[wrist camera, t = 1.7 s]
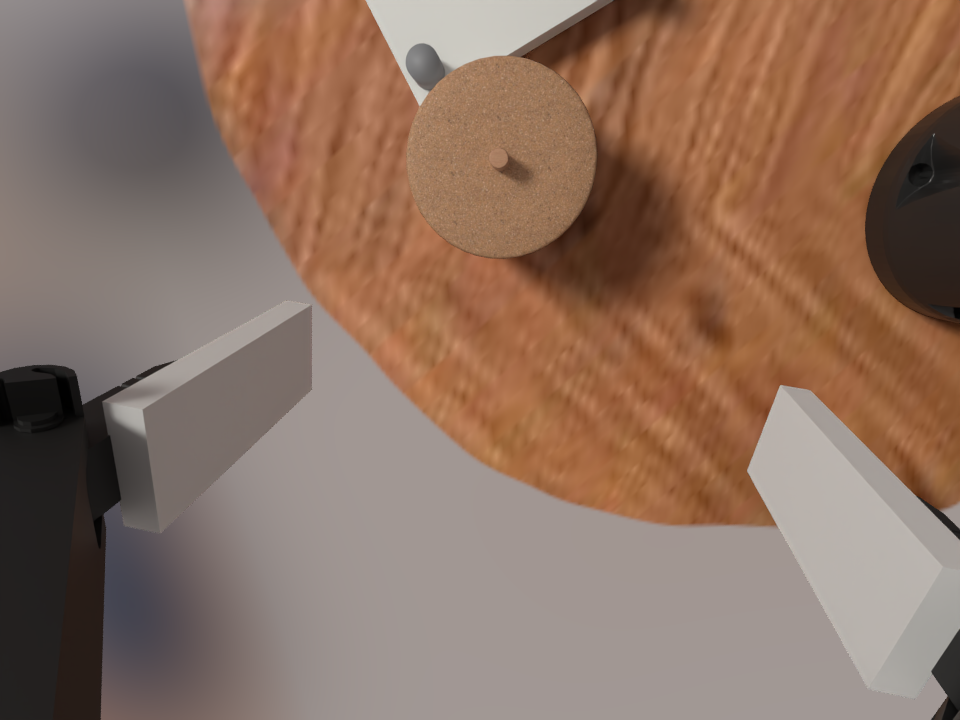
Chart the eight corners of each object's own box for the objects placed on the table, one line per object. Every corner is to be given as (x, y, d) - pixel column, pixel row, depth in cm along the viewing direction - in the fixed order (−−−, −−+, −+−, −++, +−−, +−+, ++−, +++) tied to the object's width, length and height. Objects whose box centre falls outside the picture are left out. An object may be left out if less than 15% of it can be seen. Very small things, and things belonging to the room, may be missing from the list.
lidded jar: (422, 96, 36) (388, 55, 27) (581, 82, 35) (601, 33, 26) (435, 256, 39) (409, 266, 30) (583, 247, 38) (603, 255, 29)
